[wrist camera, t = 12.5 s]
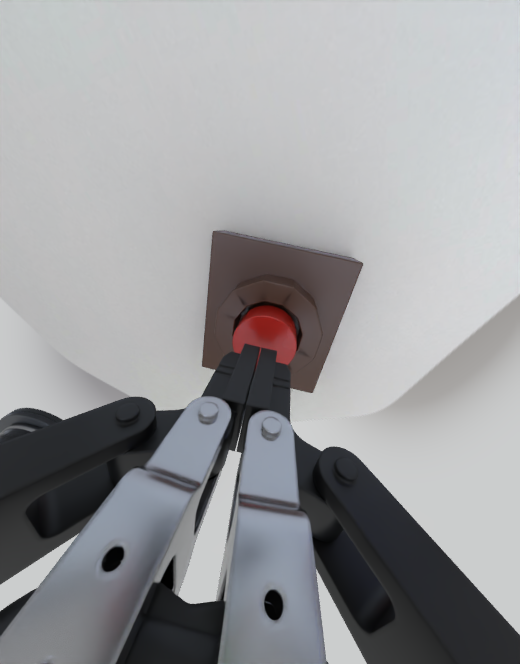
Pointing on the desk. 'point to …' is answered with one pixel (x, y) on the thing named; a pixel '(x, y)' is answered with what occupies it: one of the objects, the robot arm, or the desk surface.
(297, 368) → the button housing
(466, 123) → the desk surface
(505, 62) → the desk surface
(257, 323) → the power button
